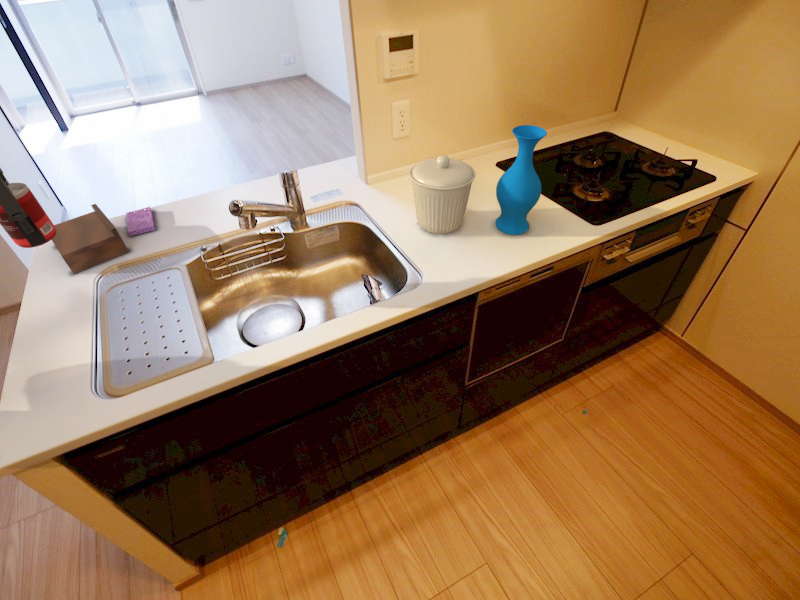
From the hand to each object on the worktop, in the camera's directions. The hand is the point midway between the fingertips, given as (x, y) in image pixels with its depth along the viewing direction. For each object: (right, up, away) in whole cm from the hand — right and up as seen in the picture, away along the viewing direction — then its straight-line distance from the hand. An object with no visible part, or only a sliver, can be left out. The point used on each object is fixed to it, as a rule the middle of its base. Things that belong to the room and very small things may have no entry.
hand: (35, 235), depth 91 cm
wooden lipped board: (-9, +1, +30) cm, 31 cm away
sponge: (-1, +9, +39) cm, 40 cm away
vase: (+111, +8, +35) cm, 117 cm away
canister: (+90, +9, +36) cm, 97 cm away
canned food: (0, -1, +1) cm, 1 cm away
